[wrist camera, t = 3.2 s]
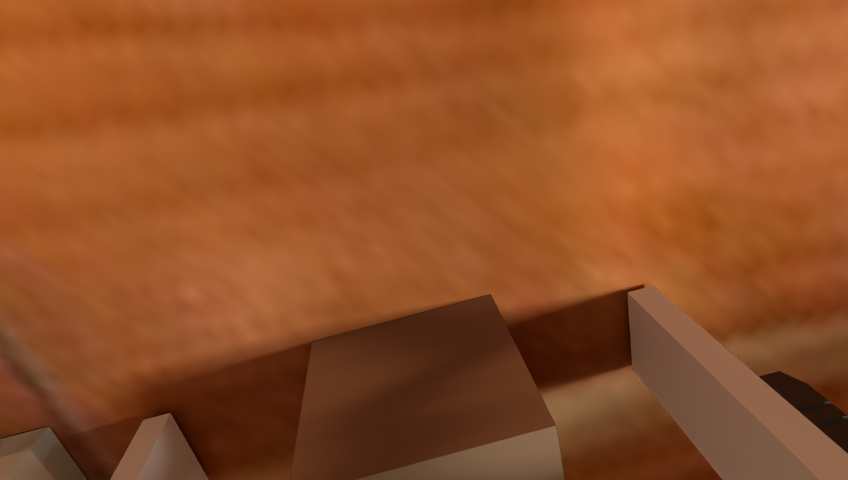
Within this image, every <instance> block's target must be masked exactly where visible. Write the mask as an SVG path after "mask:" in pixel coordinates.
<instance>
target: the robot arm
mask: <svg viewBox="0 0 848 480" xmlns="http://www.w3.org/2000/svg"><path fill="white" fill-rule="evenodd" d="M627 293H628V309H629V325H630V341H631V357H632V369H633V370H634V371H635V373H636V374H637V375H638V376H639V378H640V379H641V380H642V381H643V382H644V384H645V385H646V386H647V387H648V389H649V390H650V391H651V392H652V394H653V395H654V396H655V397H656V399H657V400H658V401H659V402H660V403H661V405H662V406H663V407H664V408H665V410H666V411H667V412H668V413H669V415H670V416H671V417H672V418H673V420H674V421H675V422H676V423H677V424H678V426H679V427H680V428H681V429H682V431H683V432H684V433H685V434H686V436H687V437H688V438H689V439H690V441H691V442H692V443H693V444H694V445H695V447H696V448H697V449H698V450H699V452H700V453H701V454H702V455H703V457H704V458H705V459H706V460H707V462H708V463H709V464H710V465H711V466H712V468H713V469H714V470H715V471H716V473H717V474H718V475H719V476H720V478H721V479H722V480H848V417H847V415H846V414H845V413H843V412H842V411H841V410H840V409H838V408H837V407H836V406H834V405H831V404H830V403H829V401H828V400H827V399H826V398H824V397H823V396H822V395H821V394H819V393H818V392H817V391H815V390H814V389H813V388H812V387H810V386H809V385H808V384H806V383H804V382H802V381H800V380H798V379H795V378H793V377H791V376H789V375H787V374H784V373H782V372H780V371H778V372H775V373H771V374H767V375H763V376H760V377H758V376H757V375H756V374H755V373H754V372H753V371H752V370H750V369H749V368H748V367H747V366H746V365H745V364H743V363H742V362H741V361H740V360H739V359H738V358H736V357H735V356H734V355H733V354H732V353H731V352H730V351H728V350H727V349H726V348H725V347H724V346H723V345H721V344H720V343H719V342H718V341H717V340H716V339H714V338H713V337H712V336H711V335H710V334H709V333H708V332H706V331H705V330H704V329H703V328H702V327H701V326H699V325H698V324H697V323H696V322H695V321H694V320H693V319H691V318H690V317H689V316H688V315H687V314H686V313H684V312H683V311H682V310H681V309H680V308H679V307H677V306H676V305H675V304H674V303H673V302H672V301H671V300H669V299H668V298H667V297H666V296H665V295H664V294H662V293H661V292H660V291H659V290H658V289H657V288H656V287H654V286H650V287H646V288H642V289H639V290H635V291H631V292H627ZM110 480H209V479H208V477H207V476H206V474H205V472H204V471H203V469H202V467H201V465H200V464H199V462H198V460H197V458H196V457H195V455H194V453H193V451H192V450H191V448H190V446H189V444H188V443H187V441H186V439H185V438H184V436H183V434H182V432H181V431H180V429H179V427H178V425H177V424H176V422H175V420H174V418H173V417H172V415H171V413H168V414H164V415H160V416H157V417H153V418H149V419H145V420H143V421H142V423H141V425H140V427H139V429H138V430H137V432H136V434H135V436H134V438H133V439H132V441H131V443H130V445H129V447H128V448H127V450H126V452H125V454H124V456H123V457H122V459H121V461H120V463H119V465H118V466H117V468H116V470H115V472H114V474H113V475H112V477H111V479H110Z"/></svg>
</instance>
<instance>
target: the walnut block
mask: <svg viewBox="0 0 848 480" xmlns="http://www.w3.org/2000/svg"><path fill="white" fill-rule="evenodd" d="M290 480H565V478H564V472H563V466H562V459H561V453H560V447H559V441H558V435H557V429H556V425H555V423H554V421H553V419H552V417H551V415H550V413H549V411H548V409H547V407H546V404H545V402H544V400H543V398H542V396H541V394H540V392H539V390H538V388H537V386H536V384H535V382H534V380H533V378H532V376H531V374H530V372H529V370H528V368H527V366H526V364H525V362H524V360H523V358H522V356H521V354H520V352H519V350H518V348H517V346H516V344H515V342H514V340H513V338H512V336H511V334H510V332H509V330H508V328H507V326H506V324H505V322H504V320H503V318H502V316H501V314H500V312H499V310H498V308H497V306H496V304H495V302H494V300H493V298H492V296H491V294H490V295H486V296H482V297H479V298H475V299H471V300H467V301H463V302H460V303H456V304H452V305H448V306H444V307H441V308H437V309H433V310H429V311H425V312H422V313H418V314H414V315H410V316H406V317H403V318H399V319H395V320H391V321H388V322H384V323H380V324H376V325H372V326H369V327H365V328H361V329H357V330H353V331H350V332H346V333H342V334H338V335H334V336H331V337H327V338H323V339H319V340H315V341H312V346H311V352H310V358H309V364H308V370H307V376H306V382H305V389H304V395H303V401H302V407H301V413H300V419H299V425H298V431H297V438H296V444H295V450H294V456H293V462H292V468H291V474H290Z"/></svg>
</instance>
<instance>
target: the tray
mask: <svg viewBox="0 0 848 480" xmlns="http://www.w3.org/2000/svg"><path fill="white" fill-rule="evenodd" d="M0 480H87V479H86V477H85V476H84V475H83V473H82V472H81V470H80V469H79V468H78V466H77V465H76V463H75V462H74V461H73V459H72V458H71V456H70V455H69V454H68V452H67V451H66V449H65V448H64V447H63V445H62V444H61V442H60V441H59V440H58V438H57V437H56V435H55V434H54V433H53V431H52V430H51V428H50V427H45V428H41V429H37V430H34V431H30V432H26V433H22V434H18V435H14V436H10V437H7V438H3V439H0Z"/></svg>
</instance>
